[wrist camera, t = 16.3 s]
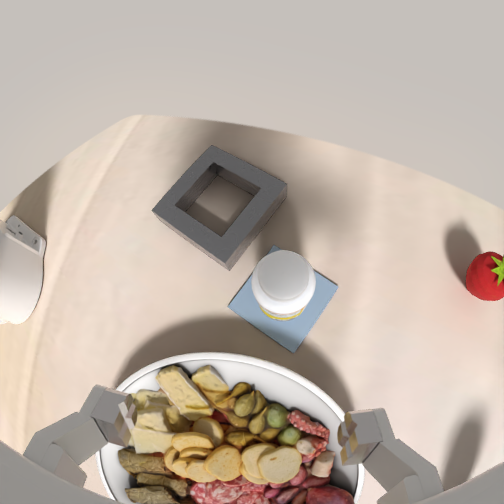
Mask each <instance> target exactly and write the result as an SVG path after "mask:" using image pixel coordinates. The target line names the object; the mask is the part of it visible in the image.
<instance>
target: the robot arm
mask: <svg viewBox="0 0 504 504" xmlns="http://www.w3.org/2000/svg"><path fill="white" fill-rule="evenodd" d="M45 247H46V241H45V239H44V238H42V237H41V236H40V235H39V234H37V233H36V232H35V231H34V230H32V229H31V228H30V227H29V226H28V225H26V224H25V223H24V222H23V221H22V220H20V219H19V218H18V217H16V216H14V215H13V216H11V217H10V218H9V219H8V220H7V221H6V222H3V221H2V220H0V324H5V323H7V322H10V323H13V324H20V323H22V322H24V321H25V320H26V319H27V318H28V317H29V316H30V315H31V313H32V312H33V310H34V308H35V306H36V304H37V301H38V298H39V295H40V291H41V286H42V279H43V256H44V251H45ZM132 402H133V397H132V395H131V394H129V393H125V392H121V391H118V390H114V389H111V388H108V387H104V386H101V385H95V386H94V387H93V389H92V390H91V392H90V394H89V396H88V397H87V399H86V401H85V403H84V404H83V406H82V408H81V410H80V412H79V413H78V412H75V413H73V414H71V415H69V416H67V417H65V418H63V419H61V420H59V421H58V422H56V423H54V424H52V425H50V426H48V427H46V428H44V429H42V430H40V431H38V432H36V433H35V434H34V436H33V438H32V439H31V441H30V443H29V445H28V446H27V448H26V450H25V452H24V454H23V455H21V454H20V453H18V452H17V451H15V450H14V449H12V448H11V447H9V446H8V445H7V444H5V443H4V442H2V441H1V440H0V504H124V503H121V502H118V501H116V500H113V499H110V498H107V497H105V496H102V495H99V494H97V493H94V492H92V491H90V490H87V489H85V488H83V486H84V483H85V481H86V478H87V475H86V473H85V472H84V471H83V470H82V469H81V468H80V467H79V465H80V464H81V463H83V462H84V461H85V460H87V459H88V458H89V457H91V456H92V455H93V454H95V453H96V452H97V451H99V450H100V449H101V448H103V447H104V446H105V445H107V444H108V442H109V443H112V444H116V445H119V446H123V447H126V448H127V446H128V443H129V440H130V438H131V433H130V429H132V428H134V427H135V425H136V422H137V416H138V413H137V408H136V406H135V405H134V404H133V403H132ZM337 439H338V444H339V445H340V446H341V447H342V450H341V452H340V456H341V461H342V466H346V465H355V464H362V465H363V466H364V467H365V468H366V470H367V471H368V472H369V473H370V474H371V475H372V476H373V477H374V478H375V479H376V480H377V481H378V482H379V483H380V484H381V486H382V487H383V488H384V489H385V490H386V491H387V493H386V494H384V495H383V496H382V497H380V498H379V499H378V501H377V504H504V462H502V463H499V464H498V465H496V466H494V467H492V468H491V469H489V470H487V471H485V472H484V473H482V474H480V475H478V476H476V477H474V478H472V479H470V480H468V481H466V482H464V483H462V484H460V485H458V486H456V487H453V488H451V489H449V490H447V491H444V489H443V486H442V483H441V480H440V477H439V474H438V471H437V469H436V467H435V466H434V465H432V464H431V463H430V462H428V461H427V460H426V459H424V458H423V457H422V456H420V455H419V454H418V453H416V452H415V451H414V450H413V449H411V448H410V447H409V446H407V445H406V444H405V443H403V442H402V441H401V440H400V439H395V436H394V433H393V431H392V428H391V425H390V422H389V419H388V417H387V414H386V411H385V409H384V408H378V409H367V410H358V411H348V412H346V413H345V415H344V421H343V422H341V423H340V425H339V427H338V432H337Z"/></svg>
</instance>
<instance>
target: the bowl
mask: <svg viewBox="0 0 504 504" xmlns="http://www.w3.org/2000/svg"><path fill="white" fill-rule="evenodd" d="M115 390H118V391H121V392H125V393H129V394H131V395H132V397H133V402H132V403H133V404H134V405H135V406H136V408H137V413H138V416H137V422H136V425H135V427H134V428H132V429H130V433H131V438H130V440H129V443H128V446H127V448H126V447H123V446H119V445H116V444H112V443H109V442H108V444H107V445H105V446H104V447H103V448H101V449H100V450H99V451H97V452H96V453H95V456H96V462H97V467H98V471H99V474H100V477H101V480H102V482H103V485H104V487H105V489H106V491H107V493H108V495H109V496H110V498H111V499H113V500H116V501H118V502H121V503H124V504H357V503H358V501H359V498H360V496H361V493H362V489H363V485H364V478H365V467H364V466H363V465H362V464H355V465H346V466H342V461H341V456H340V452H341V450H342V447H341V446H340V445H339V444H338V439H337V432H338V427H339V425H340V423H341V422H343V421H344V415H345V412H344V411H343V410H342V409H341V408H340V406H339V405H338V404H337V403H336V402H335V401H334V400H333V399H332V398H331V397H330V396H329V395H328V394H326V393H325V392H324V391H323V390H322V389H320V388H319V387H318V386H317V385H315V384H314V383H312V382H311V381H309V380H308V379H306V378H305V377H303V376H301V375H299V374H298V373H296V372H294V371H292V370H290V369H287V368H285V367H283V366H281V365H278V364H275V363H273V362H270V361H267V360H264V359H260V358H256V357H252V356H247V355H242V354H235V353H226V352H198V353H188V354H182V355H177V356H173V357H169V358H165V359H162V360H159V361H157V362H154V363H152V364H149V365H147V366H145V367H143V368H142V369H140V370H138V371H137V372H135V373H134V374H132V375H131V376H129V377H128V378H127V379H126V380H124V381H123V382H122V383H121V384H120V385H119V386H118V387H117V388H116V389H115Z"/></svg>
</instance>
